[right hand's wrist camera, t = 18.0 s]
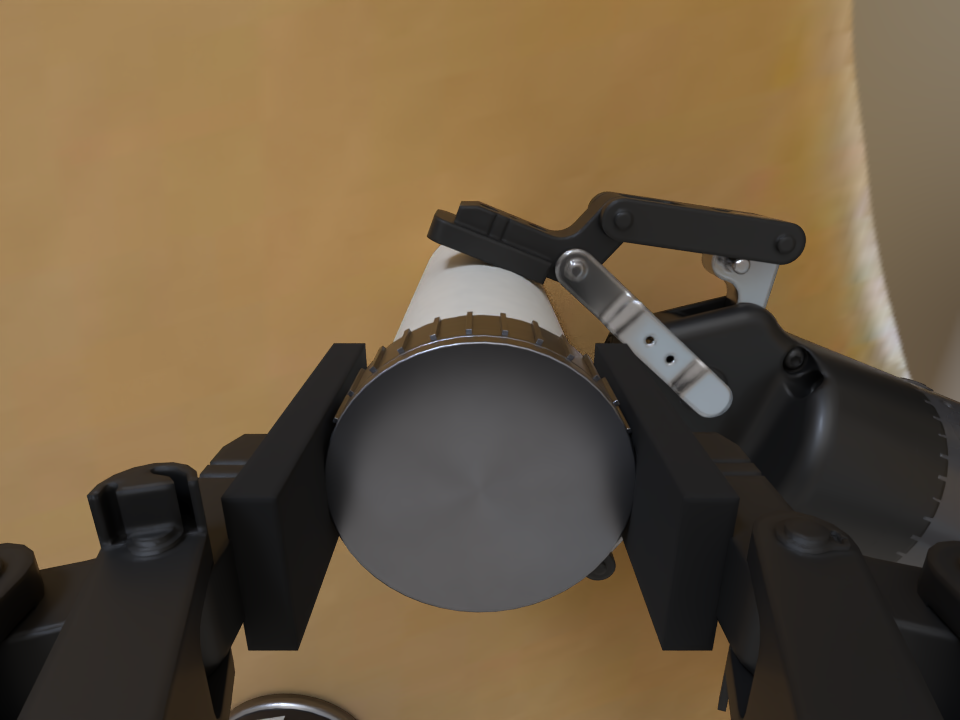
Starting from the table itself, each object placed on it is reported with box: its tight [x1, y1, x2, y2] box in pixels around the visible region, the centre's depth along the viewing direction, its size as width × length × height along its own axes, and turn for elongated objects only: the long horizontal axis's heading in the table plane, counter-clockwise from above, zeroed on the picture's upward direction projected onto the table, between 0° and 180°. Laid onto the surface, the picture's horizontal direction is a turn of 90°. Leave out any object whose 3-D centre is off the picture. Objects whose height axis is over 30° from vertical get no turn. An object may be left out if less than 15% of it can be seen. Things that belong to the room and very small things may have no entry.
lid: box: [324, 312, 636, 612], centre depth 11 cm, size 6×6×2 cm
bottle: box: [393, 245, 565, 342], centre depth 18 cm, size 5×5×15 cm
